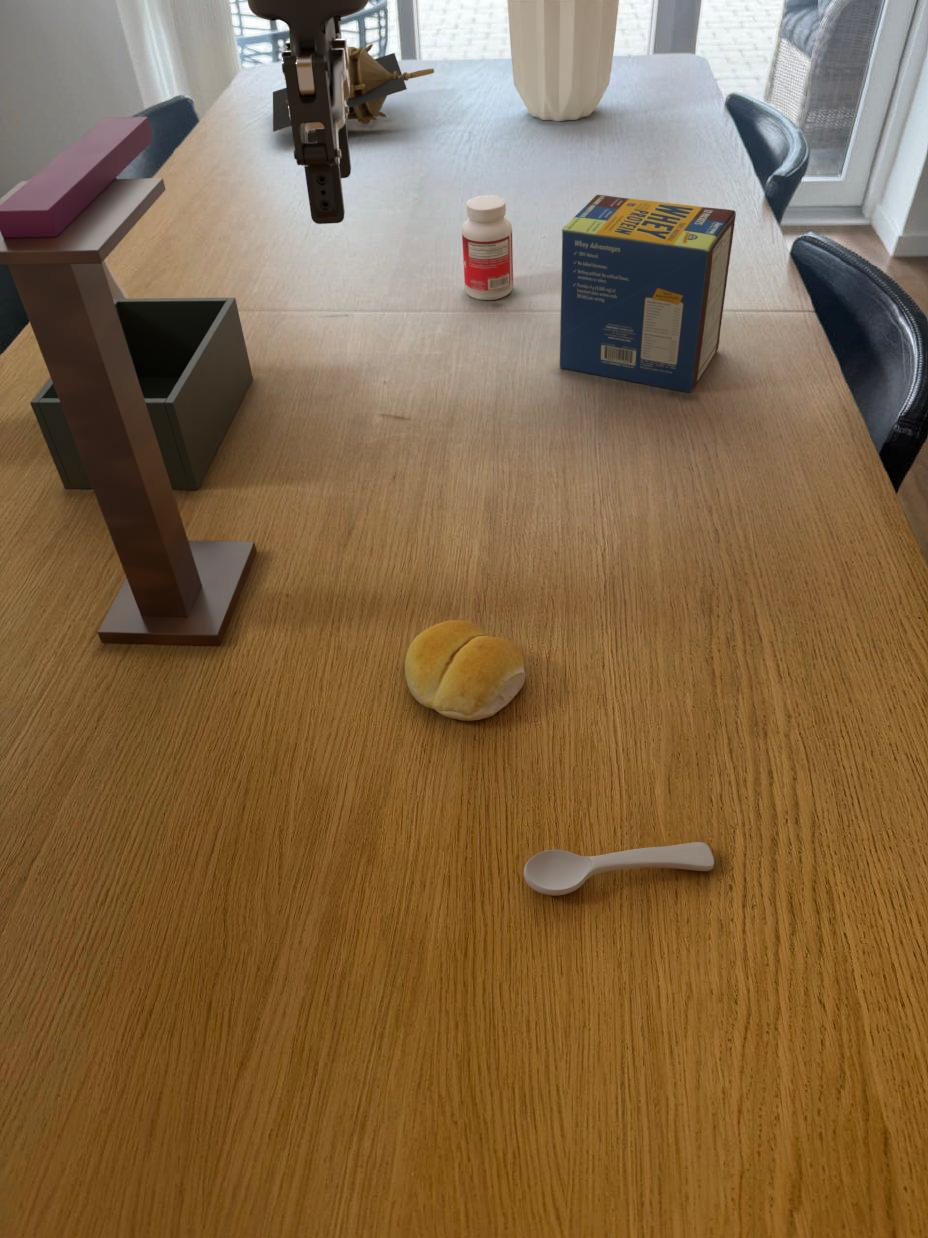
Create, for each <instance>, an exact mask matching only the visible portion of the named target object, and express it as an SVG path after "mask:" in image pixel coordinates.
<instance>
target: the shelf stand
mask: <svg viewBox="0 0 928 1238" xmlns="http://www.w3.org/2000/svg"><path fill="white" fill-rule="evenodd" d="M28 181H29V180H21V181H19V182H18V183H17V184H16V185H14V186H13V187H12V188H11V189H10V190H8V192H6V193H5V194H4V195H2V196H1V197H0V205H1V204H2V203H3V202H5V201H6V200H7V199H8V198H9V197H11V196H12V195H13V194H14V193H15V192H16V191H18V190H19V189H20V188H21V187H22V186H24V185H25V184H26V183H27V182H28ZM165 192H166V185H165V181H164V178H162V177H151V178H150V177H148V178H147V177H146V178H115V179H114V180H113V181H112V182H111V183H110V184H109V185H108V186H107V187H106V188H105V189H104V190H103V191H102V192H101V193H100V194H99V195H98V196H97V197H96V198H95V199H94V200H93V201H92V202H91V203H90V204H89V205H88V206H87V207H86V208H85V209H84V210H83V211H82V212H81V213H80V214H79V215H78V216H77V217H76V218H75V219H74V220H73V221H72V222H71V223H70V224H69V225H68V226H67V227H66V228H65V229H64V230H63V231H62V232H61V233H60V234H59V235H58V236H57V237H35V238H3V237H2V234H1V232H0V266H8V268H9V271H10V273H11V277H12V280H13V282H14V284H15V287H16V289H17V292H18V294H19V297H20V300H21V304H22V305H23V308H24V311H25V313H26V316H27V318H28V321H29V324H30V326H31V329H32V332H33V334H34V337H35V340H36V343H37V345H38V348H39V350H40V353H41V355H42V358H43V360H44V364H45V366H46V368H47V371H48V375H49V378H50V377H51V379H52V382H53V385H54V387H55V390H56V393H57V395H58V398H59V401H60V403H61V406H62V408H63V411H64V414H65V416H66V419H67V422H68V424H69V427H70V430H71V432H72V435H73V438H74V440H75V443H76V445H77V448H78V451H79V453H80V456H81V459H82V461H83V464H84V467H85V469H86V472H87V475H88V477H89V480H90V482H91V485H92V488H93V489H92V490H93V494H94V496H95V498H96V500H97V504H98V506H99V509H100V511H101V514H102V516H103V519H104V522H105V524H106V527H107V530H108V532H109V535H110V538H111V541H112V543H113V546H114V548H115V552H116V554H117V556H118V559H119V561H120V564H121V566H122V569H123V572H124V575H125V578H124V580H123V582H122V584H121V586H120V587H119V590H118V591H117V594H116V595H115V597H114V599H113V601H112V602H111V605H110V607H109V608H108V611H107V612H106V614H105V616H104V618H103V620H102V622H101V624H100V626H99V627H98V630H97V631H96V633H97V635H98V638H99V640H100V642H101V643H104V644H107V643H110V644H139V645H140V644H143V645H144V644H145V645H146V644H147V645H176V646H177V645H178V646H214V647H215V646H216V647H217V646H218V647H220V646H221V645H222V642H223V640H224V638H225V635H226V633H227V630H228V627H229V625H230V622H231V619H232V617H233V614H234V613H235V610H236V607H237V604H238V601H239V599H240V597H241V594H242V591H243V589H244V586H245V584H246V580H247V578H248V576H249V573H250V570H251V568H252V565H253V563H254V560H255V558H256V555H257V553H258V551H257V547H256V543H255V541H253V540H252V541H251V540H250V541H247V540H245V541H244V540H189V538H188V535H187V532H186V529H185V525H184V522H183V520H182V515H181V513H180V510H179V507H178V504H177V500H176V497H175V493H174V491H173V490H172V487H171V484H170V481H169V477H168V474H167V471H166V468H165V464H164V461H163V458H162V455H161V452H160V448H159V445H158V442H157V439H156V435H155V432H154V429H153V426H152V423H151V419H150V416H149V413H148V410H147V407H146V403H145V400H144V397H143V394H142V390H141V387H140V384H139V381H138V378H137V374H136V371H135V368H134V365H133V361H132V358H131V355H130V352H129V349H128V345H127V342H126V339H125V336H124V332H123V329H122V326H121V323H120V320H119V316H118V313H117V310H116V307H115V304H114V300H113V297H112V294H111V291H110V287H109V284H108V281H107V278H106V275H105V271H104V268H103V265H102V262H103V261H104V260H106V259H107V258H108V257H109V256H110V254H112V252H113V251H114V250H115V249H116V247H117V246H119V244H120V243H121V242H122V240H124V238H125V237H126V236H127V235H128V234H129V233H130V231H132V229H133V228H134V227H136V225H137V223H138V222H139V221H140V220H141V219H142V218H143V216H144V215H145V214H146V213H147V212H148V211H149V210H150V209H151V208H152V207H153V205H154V204H155V203H156V202H157V201H158V200H159V198H160V197H161V196H162V195H163V194H164V193H165Z"/></svg>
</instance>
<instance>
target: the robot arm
mask: <svg viewBox="0 0 928 1238" xmlns="http://www.w3.org/2000/svg"><path fill="white" fill-rule="evenodd" d="M368 3H369V0H247V6H248V9H249V10H250V11H251V13H252V14H253V15H255V16H256V17H258V18H260V19H262V20H268V21H272V22H274V21H281V22H283V23H285V24H286V25H287V27H288V29H289V30H288V34H289V35H288V36H289V37H288V38H289V40H286V41H285V50H282V51H281V70H282V74H283V76H284V80H285V86H286V87H285V88H287V95H288V104H289V117H290V120H291V125H292V126H291V132H292V138H293V145H294V146H293V147H294V150H293V159H294V160H296V165H297V166H301V167H304V168H303V169H304V174H305V182H306V188H307V195H308V196H307V197H308V204H309V210H310V217H311V220H312V221H313V222H314V223H315V224H317V225H326V224H327V225H328V224H340V223H342V222H343V221H344V219H345V212H346V211H345V204H344V203H345V202H344V192H343V185H342V179H347V178H349V176H351V171H352V163H351V153H350V144H349V136H348V126H347V120H348V119H347V117H348V116H347V113H349V107H348V106H347V104H346V102H348V98H349V97H350V82H349V74H348V67H349V63H348V49H349V47H348V40H347V38H345V37H344V38H343V37H342V29H341V22H342V18H345V17H350V16H352V15H355V14H357V13H359V12H361V11H362V10H364V9H365V8H366V7H367V5H368ZM311 130H315V138H316V139H315V140H316V142H309V132H310V131H311Z"/></svg>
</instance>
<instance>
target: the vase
mask: <svg viewBox="0 0 928 1238" xmlns="http://www.w3.org/2000/svg"><path fill="white" fill-rule="evenodd" d="M619 4H620V0H507V13H508V14H507V17H508V28H509V29H508V30H509V31H508V32H509V43H510V44H509V45H510V58H511V67H512V78H513V86H514V87H515V90H516V91H517V93H518V95H519V97H520V99H521V101H522V102H523V104H524V106H525V108H526V109H527V111H528V113H529V115H530V116H531V117H533V118H537V119H540V120H542V121H554V122H564V121H577V120H579V119H581V118H587V117H590V115H591V114H592V113H594V112H595V111H596V109H597V108H598V106H599V104H600V102H601V100H602V99H603V97H604V95H605V93H606V91H607V89H608V86H609V85H610V81H611V74H612V66H613V58H614V51H615V44H616V43H615V41H616V32H617V23H618V16H619V15H618V13H619Z"/></svg>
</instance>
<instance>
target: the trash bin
mask: <svg viewBox="0 0 928 1238" xmlns="http://www.w3.org/2000/svg"><path fill="white" fill-rule="evenodd" d="M113 300H114V304H115V307H116V310H117V313H118V316H119V320H120V323H121V326H122V329H123V332H124V336H125V339H126V342H127V345H128V349H129V352H130V355H131V358H132V361H133V365H134V368H135V371H136V374H137V378H138V381H139V384H140V387H141V390H142V394H143V397H144V400H145V403H146V407H147V410H148V413H149V416H150V419H151V423H152V426H153V429H154V432H155V435H156V439H157V442H158V445H159V448H160V452H161V455H162V458H163V461H164V464H165V468H166V471H167V474H168V477H169V481H170V484H171V487H172V490H174V491H198V490H199V488H200V487H201V484H202V482H203V480H204V479H205V476H206V474H207V473H208V470H209V468H210V466H211V465H212V462H213V461H214V458H215V457H216V454H217V452H218V450H219V448H220V446H221V444H222V443H223V440H224V438H225V436H226V435H227V432H228V430H229V428H230V426H231V424H232V422H233V421H234V418H235V416H236V414H237V412H238V411H239V408H240V406H241V404H242V401H243V400H244V398H245V395H246V394H247V392H248V390H249V388H250V385H252V384H251V383H252V382H253V380H254V375H253V372H252V368H251V362H250V358H249V354H248V350H247V345H246V340H245V335H244V331H243V327H242V323H241V318H240V314H239V308H238V304H237V299H236V297H154V298H153V297H151V298H150V297H149V298H148V297H146V298H144V297H143V298H139V297H138V298H136V297H135V298H130V299H113ZM29 404H30V407H31V409H32V411H33V414H34V416H35V418H36V421H37V423H38V426H39V429H40V432H41V433H42V436H43V439H44V442H45V443H46V446H47V449H48V451H49V453H50V456H51V458H52V461H53V463H54V466H55V468H56V470H57V473H58V477H59V479H60V481H61V483H62V486H63V488H64V489H73V490H75V489H77V490H80V489H85V490H91V489H92V490H93V488H92V485H91V482H90V480H89V477H88V475H87V472H86V469H85V467H84V464H83V461H82V459H81V456H80V453H79V451H78V448H77V445H76V443H75V440H74V438H73V435H72V432H71V430H70V427H69V424H68V422H67V419H66V416H65V414H64V411H63V408H62V406H61V403H60V401H59V398H58V395H57V393H56V390H55V387H54V385H53V382H52V379H51V377H50V376H49V378H48V379H47V381H45V383H44V384H43V386H41V388H40V389H39V390H38V392H37V393H36V394H35V396H34V397H33V398H32V399H31V400H30V401H29Z"/></svg>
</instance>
